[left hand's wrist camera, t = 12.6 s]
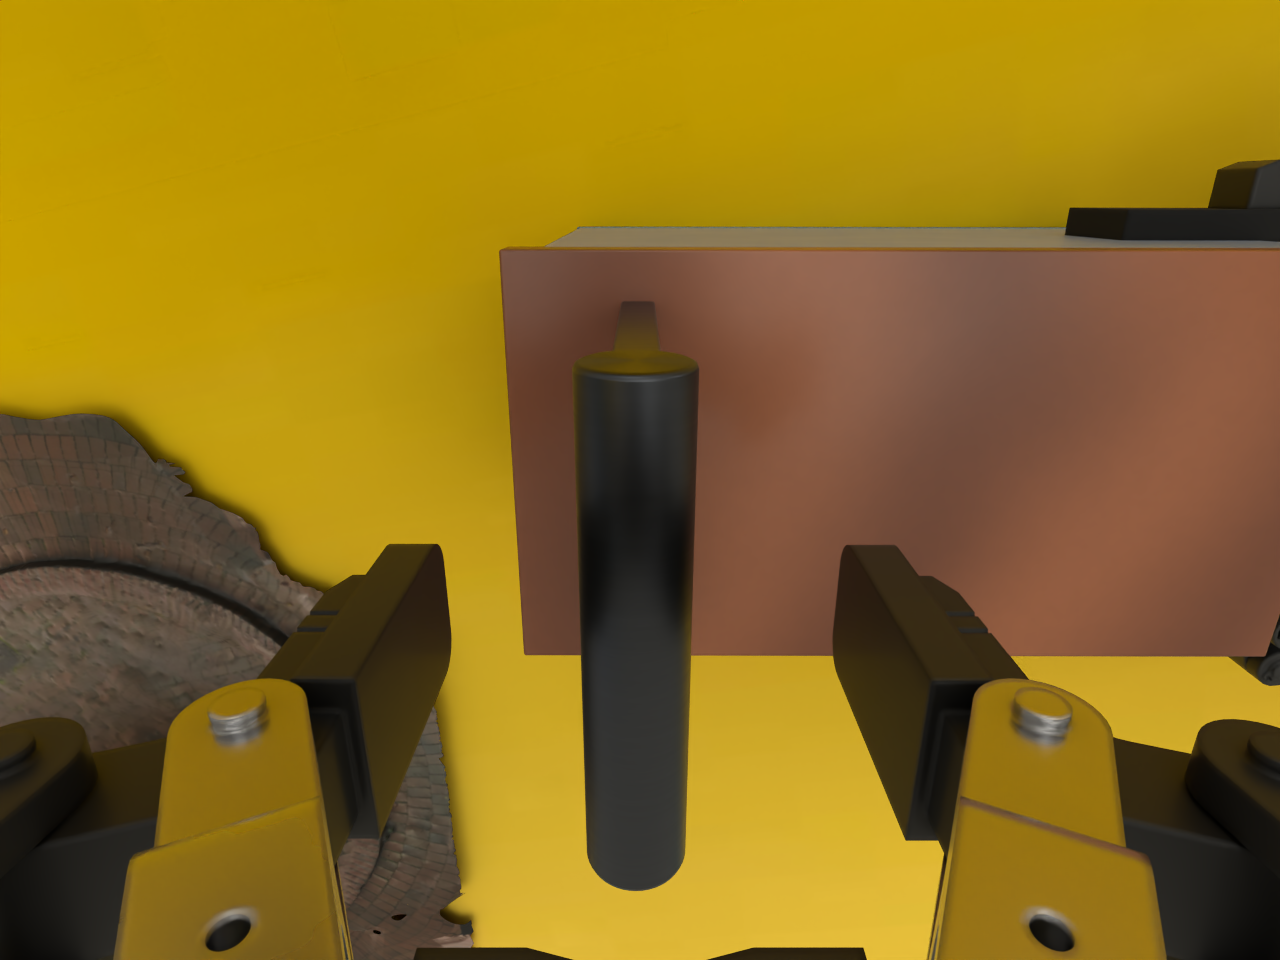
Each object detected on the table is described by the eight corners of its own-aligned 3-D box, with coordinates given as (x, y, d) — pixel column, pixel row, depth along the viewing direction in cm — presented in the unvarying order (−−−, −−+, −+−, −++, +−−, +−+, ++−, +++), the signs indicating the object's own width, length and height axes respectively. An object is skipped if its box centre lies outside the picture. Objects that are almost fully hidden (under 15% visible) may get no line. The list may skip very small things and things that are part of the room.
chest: (585, 484, 30) (556, 634, 20) (578, 226, 26) (540, 245, 16) (1032, 485, 30) (1237, 636, 20) (1084, 227, 26) (1364, 247, 16)
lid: (529, 635, 19) (452, 935, 12) (506, 246, 16) (375, 296, 8) (1238, 636, 19) (1647, 938, 12) (1365, 248, 16) (2068, 297, 8)
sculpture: (598, 532, 30) (558, 860, 15) (442, 1081, 42) (334, 1566, 27) (-291, 308, 27) (-1435, 447, 12) (-188, 969, 39) (-701, 1450, 24)
